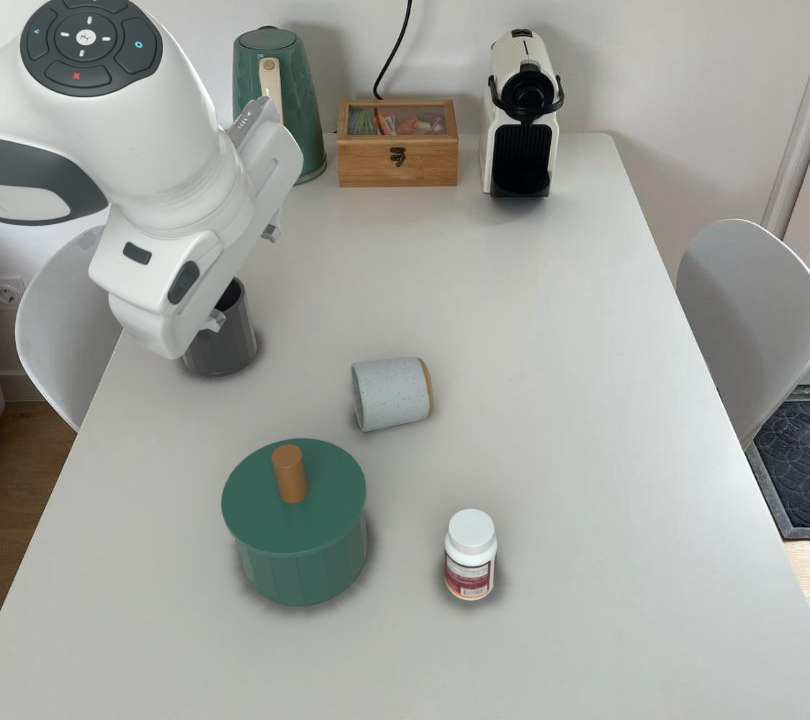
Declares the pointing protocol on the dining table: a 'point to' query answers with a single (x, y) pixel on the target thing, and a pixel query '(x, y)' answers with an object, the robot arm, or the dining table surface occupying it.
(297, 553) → the tin lid
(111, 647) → the dining table surface
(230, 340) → the cup
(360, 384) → the ceramic mug
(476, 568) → the pill bottle
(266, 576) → the tin
